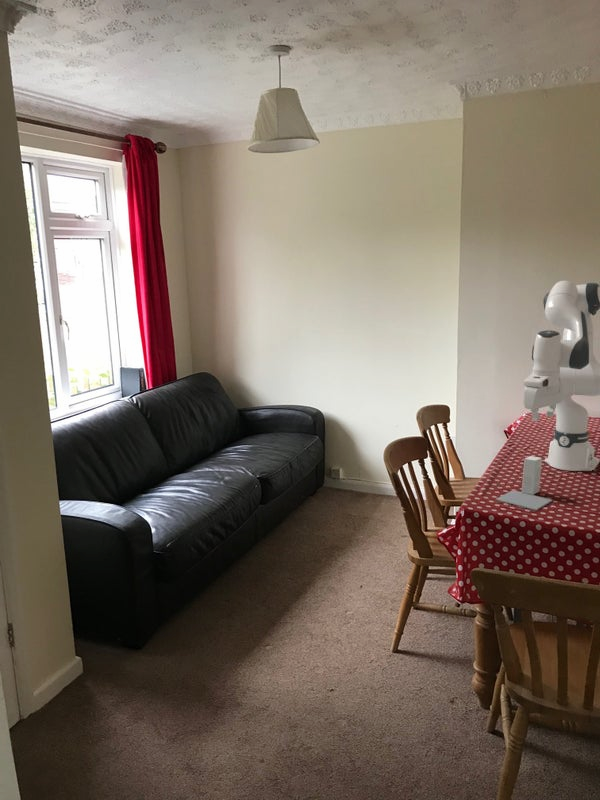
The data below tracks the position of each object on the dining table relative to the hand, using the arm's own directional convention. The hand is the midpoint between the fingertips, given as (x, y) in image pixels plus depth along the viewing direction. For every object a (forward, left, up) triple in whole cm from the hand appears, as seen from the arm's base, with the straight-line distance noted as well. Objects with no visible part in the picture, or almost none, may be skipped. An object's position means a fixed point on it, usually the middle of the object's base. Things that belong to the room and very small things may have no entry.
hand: (542, 418), depth 229 cm
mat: (+16, +3, -25) cm, 30 cm away
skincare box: (+8, +1, -25) cm, 26 cm away
